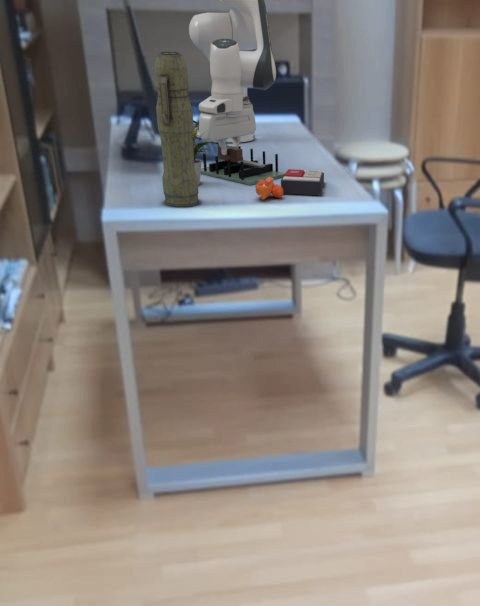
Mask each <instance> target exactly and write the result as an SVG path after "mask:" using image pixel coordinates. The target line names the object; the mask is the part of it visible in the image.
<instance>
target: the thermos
mask: <svg viewBox="0 0 480 606" xmlns="http://www.w3.org/2000/svg"><path fill="white" fill-rule="evenodd" d="M154 71H155V72H154V73H155V74H154V75H155V84H156V89H157V97H156V98H157V101H156V106H155V111H156V122H157V132H158V133H159V135H160V145H161V156H162V157H161V158H162V169H163V173H162V176H161V177H162V179H161V181H162V189H163V190H162V191H163V194H164V204H165V205H167V206H169V207H174V208H188V207H194V206H197V205H198V204H199V202H200V201H199V185H198V179H197V174H196V172H195V165H194V151H193V147H194V146H193V137H192V135H193V132H194V128H195V126H194V125H195V123H193V120H194V111H193V106H192V104H191V101H190V95H189V77H188V66H187V63H186V60H185V57H184V55H183V54H182V53H180V52H179V51H178V52H177V51H160V52H159V53H157V54H156V58H155V63H154Z"/></svg>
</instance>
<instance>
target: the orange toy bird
mask: <svg viewBox="0 0 480 606" xmlns="http://www.w3.org/2000/svg"><path fill="white" fill-rule="evenodd" d="M274 180H275V179H274V178H271V177H268V178H267V179H266V180H259V181H258V183H257V184H255V186H254V187H255V193H256V194H257V195H258V196H259V199H260V200H263V201H265V199H266V198H268V197H269V196H270V195H272V196H273V197H274V198H275V199H280V198H282V197H283V195H284V194H283V188H282V187H281V184H280V185H279V184H275V183H274Z"/></svg>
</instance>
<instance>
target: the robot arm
mask: <svg viewBox="0 0 480 606" xmlns="http://www.w3.org/2000/svg"><path fill="white" fill-rule="evenodd" d="M218 2H220V3H221V4H223V5H224V6H226V7H228V8H229V11H228V12H203V13H198V14H194V15H193V16H192V18H191V19H190V22H189V26H188V34H189V38H190V40H191V42H192V44H193V45H194V46H195V47H196V48H197V49H198V50H200V52H202V54H203V55H204V56H205V57H206V59H207V60H208V67H209V68H208V69H209V77H210V79H211V89H210V92H211V93H210V96H208V97H207V98H206V99H204V100H203V101H200V103H199V104H198V111H199V112H201V113H200V114H199V117H198V121H196V120H194V119H193V124H194V125H195V127H198V126H199V128H198V130H197V135H198V136H197V135H196V136H197V137H200V136H201V134H203V133H204V132H205V133H204V135H202V136H201V138H200V139H201V141H202V142H213V143H218V146H220V147H221V152H222V154H223V155H227V154H229V148H227V147H226V146H227V143H232V145H229V146H230V147H235V148H238V146H240V143H246V142H247V143H248V142H252V141H254V139H255V138H254V134H255V133H256V131H257V124H256V115H255V112H254V105H253V104H252V102H251V101H250V97H249V95H248V89H255V90H262V91H266V90H268V89H269V88H271V87H272V86H273V85H274V84H275V82H276V78H277V68H276V63H275V59H274V55H273V48H272V42H271V34H270V26H269V21H268V20H269V19H268V13H267V7H266V6H267V5H266V1H265V0H218ZM252 50H254V51H252ZM206 131H207V132H206ZM197 137H196V138H197Z"/></svg>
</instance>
